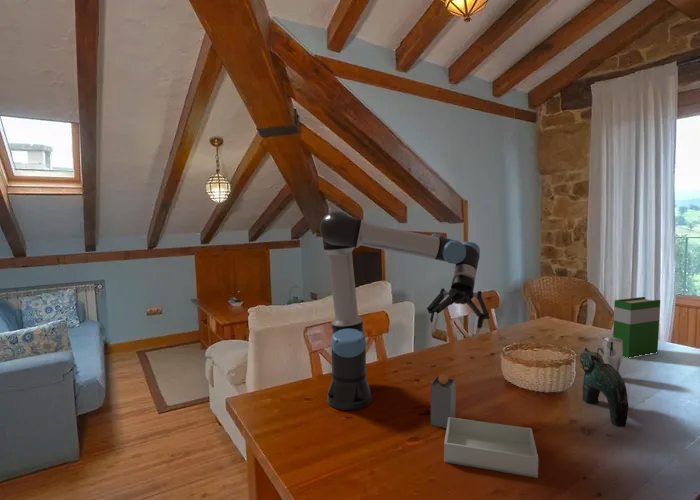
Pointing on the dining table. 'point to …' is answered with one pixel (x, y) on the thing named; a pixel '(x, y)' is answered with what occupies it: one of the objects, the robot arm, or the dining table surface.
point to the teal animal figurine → (604, 386)
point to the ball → (443, 379)
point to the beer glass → (612, 351)
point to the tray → (491, 446)
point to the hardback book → (637, 325)
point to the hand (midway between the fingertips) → (453, 333)
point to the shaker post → (442, 402)
